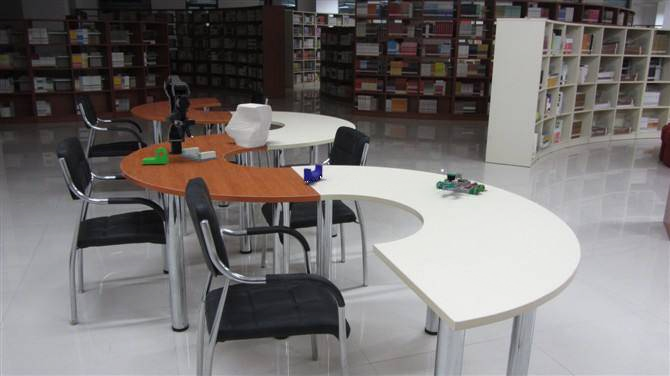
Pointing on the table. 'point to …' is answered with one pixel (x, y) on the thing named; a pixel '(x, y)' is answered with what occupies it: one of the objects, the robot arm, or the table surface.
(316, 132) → the table surface
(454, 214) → the table surface
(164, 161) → the mechanical part
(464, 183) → the robot kit
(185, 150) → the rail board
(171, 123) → the robot arm
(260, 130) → the white faceted sculpture
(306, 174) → the cable clip
